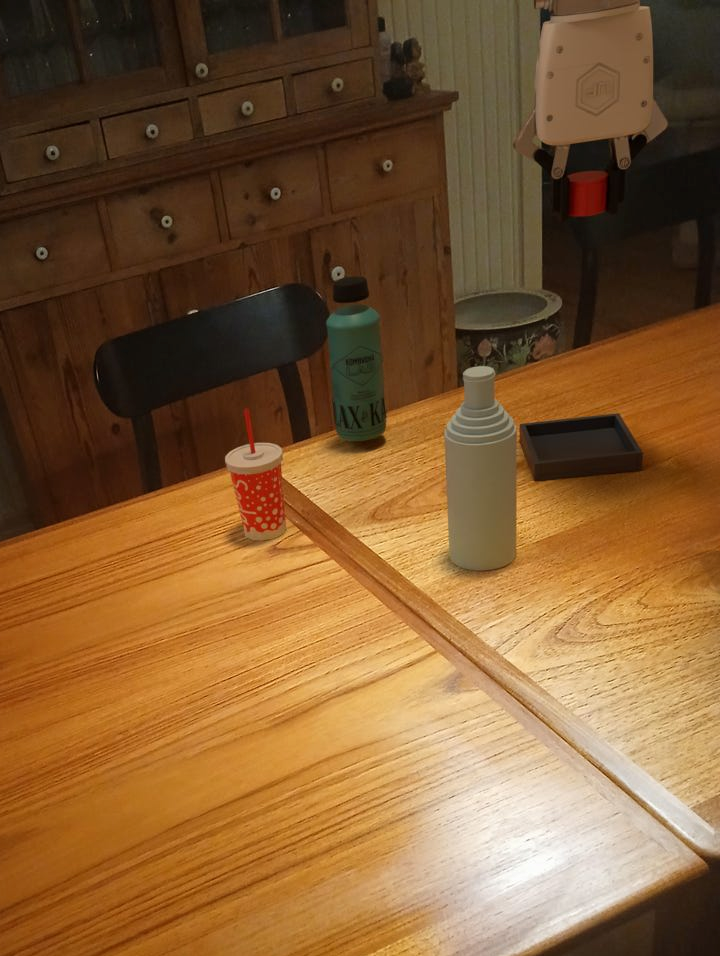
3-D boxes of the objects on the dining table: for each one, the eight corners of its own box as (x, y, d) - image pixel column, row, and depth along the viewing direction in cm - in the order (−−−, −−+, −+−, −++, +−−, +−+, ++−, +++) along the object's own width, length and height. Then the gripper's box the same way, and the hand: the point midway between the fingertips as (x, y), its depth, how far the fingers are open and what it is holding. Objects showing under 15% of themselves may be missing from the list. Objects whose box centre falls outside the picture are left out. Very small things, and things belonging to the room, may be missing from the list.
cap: (570, 219, 96) (571, 184, 94) (559, 209, 99) (560, 175, 97) (611, 212, 96) (614, 177, 94) (599, 202, 99) (601, 168, 97)
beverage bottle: (327, 442, 125) (309, 281, 114) (373, 427, 127) (360, 267, 116) (352, 458, 120) (336, 291, 109) (399, 442, 121) (388, 276, 110)
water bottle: (510, 535, 99) (510, 354, 88) (521, 567, 93) (522, 379, 83) (445, 541, 100) (438, 363, 89) (453, 574, 94) (446, 388, 84)
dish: (618, 429, 115) (619, 412, 114) (641, 470, 106) (643, 452, 104) (519, 440, 117) (519, 423, 115) (534, 481, 107) (534, 463, 106)
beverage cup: (232, 525, 110) (211, 406, 102) (285, 512, 110) (268, 393, 103) (244, 549, 105) (223, 425, 97) (299, 535, 105) (282, 412, 98)
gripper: (503, 15, 85) (504, 236, 95) (707, -20, 83) (686, 211, 93) (492, 11, 91) (494, 219, 102) (682, -22, 89) (664, 195, 99)
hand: (585, 213), depth 97 cm, fingers closed on cap, 4 cm apart
